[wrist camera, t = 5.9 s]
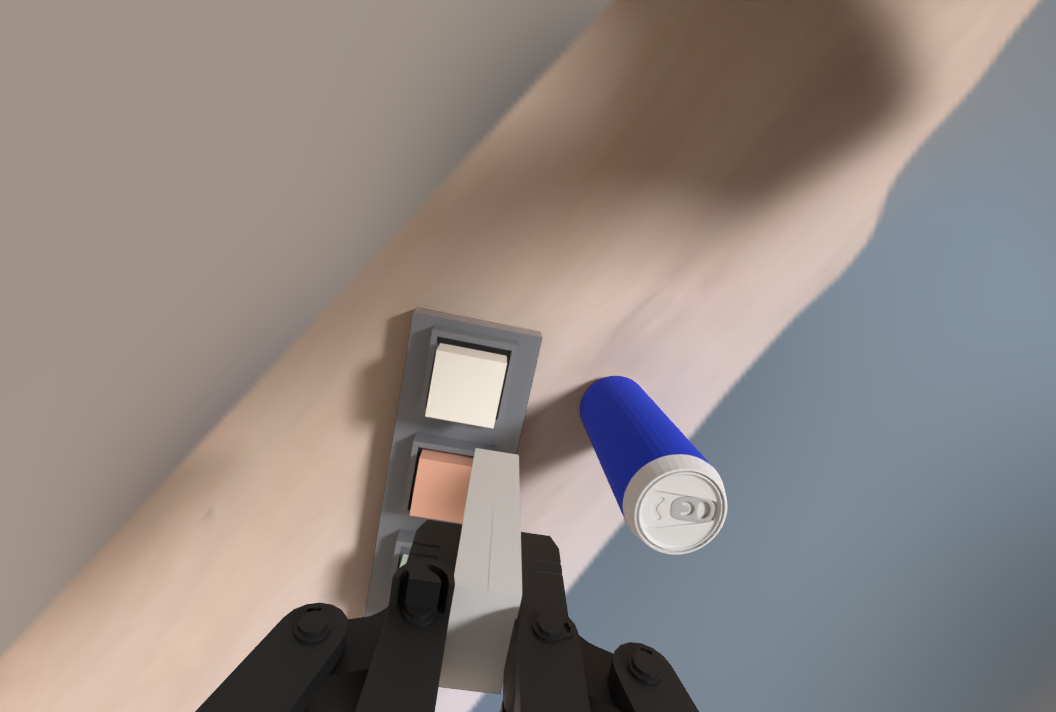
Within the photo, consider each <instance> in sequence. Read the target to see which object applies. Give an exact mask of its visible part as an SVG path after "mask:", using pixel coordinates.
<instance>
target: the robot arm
mask: <svg viewBox="0 0 1056 712" xmlns="http://www.w3.org/2000/svg"><path fill="white" fill-rule="evenodd" d="M560 563H561V561H560V554H559V548H558V547H557V545H556V544H555V543H554V541H553V540H552V538H551V537H550V536H545V535H538V534H531V533H525V532H521V521H520V480H519V455H516V454H510V453H504V452H498V451H491V450H485V449H479V448H475V453H474V459H473V465H472V470H471V476H470V482H469V488H468V493H467V499H466V505H465V510H464V516H463V522H462V525H461V524H455V523H448V522H441V521H434V520H426V521H425V522H424V523H423V524H422V525H421V526H420V527H419V528H418V529H417V530H416V533H415V537H414V540H413V543H412V546H411V549H410V553H409V556H408V559H407V562H406V564H404V565H403V566H401V567H399V568H398V569H397V571H396V572H395V574H394V575H393V577H392V585H391V592H390V599H389V606H388V607H386V608H385V609H384V610H382V611H381V612H378V613H376V614H374V615H371V616H367V617H362V618H355V619H348V620H347V617H346V616H345V614H344V613H343V611H342V610H341V609H339V608H337V607H335V606H334V605H331V604H325V603H314V604H306V605H304V606H301V607H299V608H296V609H294V610H293V611H291V612H290V613H289V614H287V615H286V616H285V617H284V618H283V619H282V620H281V621H280V622H279V623H278V624H277V625H276V626H275V627H274V628H273V629H272V630H271V631H270V632H269V634H268V635H267V636H266V637H265V638H264V639H263V640H262V641H261V642H260V643H259V644H258V645H257V646H256V647H255V648H254V650H253V651H252V652H251V653H250V654H249V655H248V656H247V657H246V658H245V659H244V660H243V661H242V662H241V663H240V664H239V666H238V667H237V668H236V669H235V670H234V671H233V672H232V673H231V674H230V675H229V676H228V677H227V678H226V679H225V680H224V682H223V683H222V684H221V685H220V686H219V687H218V688H217V689H216V690H215V691H214V692H213V693H212V694H211V695H210V696H209V698H208V699H207V700H206V701H205V702H204V703H203V704H202V705H201V706H200V707H199V708H198V709H197V710H196V711H195V712H435V705H436V699H437V693H438V687H443V688H451V689H460V690H468V691H476V692H484V693H493V694H501V689H502V685H503V701H502V706H501V711H500V712H699V711H698V709H697V708H696V706H695V704H694V703H693V701H692V699H691V698H690V696H689V694H688V693H687V691H686V690H685V688H684V686H683V684H682V683H681V681H680V679H679V678H678V676H677V674H676V673H675V671H674V669H673V668H672V666H671V665H670V664H669V663H668V661H667V660H666V659H665V657H664V656H662V655H661V654H660V653H659V652H657V651H656V650H655V649H653V648H651V647H649V646H646V645H644V644H641V643H632V642H629V643H626V644H623V645H620V646H619V647H618V648H617V649H616V650H615V652H614V654H613V653H611V652H608V651H606V650H603V649H601V648H599V647H596V646H594V645H592V644H590V643H589V642H587V641H586V640H584V639H583V638H582V637H581V636H579V634H578V631H577V629H576V626H575V624H574V623H573V622H572V621H571V620H570V618H569V617H568V612H567V604H566V597H565V590H564V583H563V576H562V568H561V565H560Z"/></svg>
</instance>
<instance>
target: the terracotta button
mask: <svg viewBox="0 0 1056 712" xmlns="http://www.w3.org/2000/svg"><path fill="white" fill-rule="evenodd" d="M473 459H474V456H468V455H462V454H456V453H450V452H444V451H439V450H433V449H427V448H423V450H422V453H421V455H420V458H419V464H418V470H417V475H416V481H415V487H414V492H413V498H412V504H411V510H410V515H411V516H417V517H424V518H430V519H437V520H443V521H449V522H456V523H462V522H463V516H464V510H465V505H466V499H467V493H468V488H469V482H470V476H471V470H472V465H473Z"/></svg>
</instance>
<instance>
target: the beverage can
mask: <svg viewBox="0 0 1056 712" xmlns="http://www.w3.org/2000/svg"><path fill="white" fill-rule="evenodd" d="M580 415H581V419H582V422H583V424H584V427H585V429H586V431H587V434H588V436H589V438H590V441H591V443H592V445H593V447H594V450H595V452H596V454H597V457H598V459H599V461H600V464H601V466H602V468H603V470H604V473H605V475H606V477H607V480H608V482H609V484H610V487H611V489H612V491H613V493H614V496H615V498H616V500H617V503H618V505H619V507H620V509H621V512H622V514H623V516H624V519H625V521H626V523H627V525H628V527H629V528H630V529H631V531H632V532H633V533H634V534H635V535H636V536H637V537H638V538H639V539H641V540H642V541H643V542H644V543H646V544H647V545H648V546H649V547H651V548H653V549H654V550H656V551H659V552H661V553H665V554H674V555H677V554H685V553H690V552H692V551H695V550H697V549H700V548H702V547H703V546H705V545H706V544H708V543H709V542H710V541H711V540H712V539H713V538H714V537H715V536H716V535H717V534H718V532H719V531H720V529H721V527H722V526H723V523H724V521H725V518H726V514H727V498H726V495H725V490H724V486H723V482H722V480H721V478H720V476H719V474H718V473H717V472H716V470H715V469H714V468H713V467H712V465H711V464H710V463H709V462H708V461H707V460H706V459H705V458H704V457H703V456H702V454H701V453H700V452H699V451H698V450H697V449H696V448H695V447H694V446H693V445H692V443H691V442H690V441H689V440H688V439H687V438H686V437H685V436H684V435H683V433H682V432H681V431H680V430H679V429H678V428H677V427H676V426H675V425H674V424H673V422H672V421H671V420H670V419H669V418H668V417H667V416H666V415H665V414H664V412H663V411H662V410H661V409H660V408H659V407H658V406H657V405H656V404H655V403H654V401H653V400H652V399H651V398H650V397H649V396H648V395H647V394H646V393H645V392H644V390H643V389H642V388H641V387H640V386H639V385H638V384H637V383H636V382H634V381H633V380H631V379H629V378H626V377H622V376H609V377H605V378H602V379H600V380H598V381H596V382H595V383H594V384H592V385H591V386H590V387H589V388H588V389H587V391H586V392H585V394H584V396H583V398H582V400H581V404H580Z"/></svg>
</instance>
